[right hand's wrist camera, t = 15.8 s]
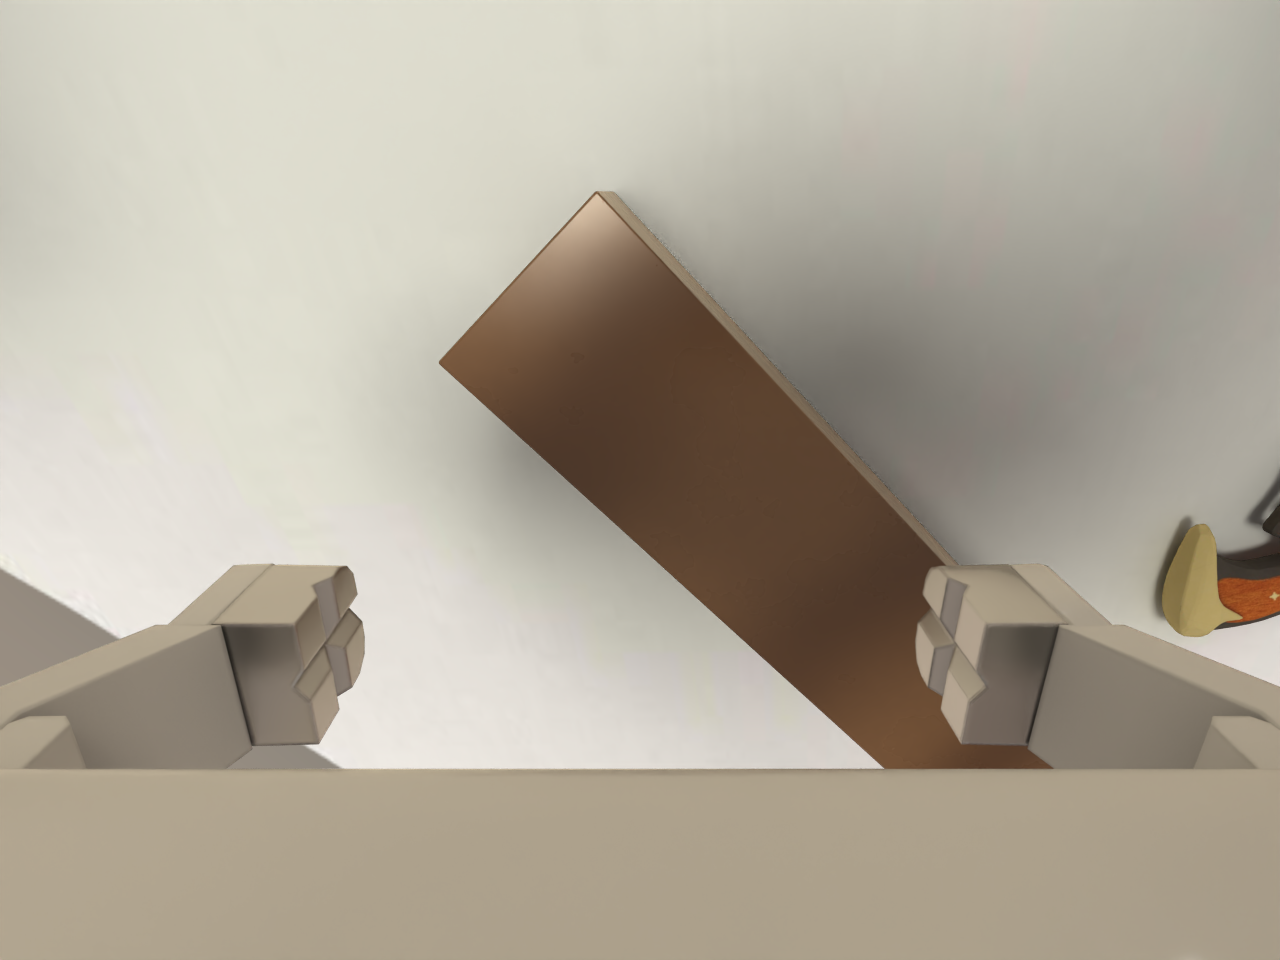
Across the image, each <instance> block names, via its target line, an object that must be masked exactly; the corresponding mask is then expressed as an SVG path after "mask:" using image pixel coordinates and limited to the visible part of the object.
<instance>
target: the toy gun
mask: <svg viewBox="0 0 1280 960" xmlns="http://www.w3.org/2000/svg"><path fill="white" fill-rule="evenodd" d="M1262 528H1263V530H1264V531H1266V532H1268V533H1270V534H1272V535H1274V536H1277V537H1280V505H1279V506H1278V507H1277V508H1276V509H1275V511H1274V512H1273V513H1272V514H1271V515H1270V516H1269V518H1268V519H1267V520H1266V521H1265V523H1264V524H1263V526H1262ZM1162 608H1163V612H1164V615H1165V617H1166V619H1167V621H1168V623H1169V624H1170V625H1171V626H1172V627H1173V629H1174V630H1175V631H1176V632H1178V633H1179V634H1181V635H1183V636H1190V637H1201V636H1204V635H1207V634H1209V633H1210V632H1211V631H1212V630H1216V629H1223V628H1229V627H1236V626H1241V625H1246V624H1251V623H1255V622H1259V621H1262V620H1266V619H1269V618H1271V617H1274V616H1277V615H1280V553H1277V554H1274V555H1270V556H1265V557H1261V558H1256V559H1250V560H1243V561H1238V560H1231V559H1227V558H1223V557H1220V556H1218V555H1217V550H1216V542H1215V538H1214V536H1213V534H1212V532H1211V530H1210V528H1209V527H1208V526H1207V525H1206V524H1198V525H1195V526H1193V527H1192V528H1190V529H1189V530H1188V532H1187V533H1186V535H1185V537H1184V539H1183V541H1182V542H1181V544H1180V546H1179V548H1178V550H1177V552H1176V555H1175V557H1174V559H1173V561H1172V563H1171V565H1170V568H1169V570H1168V573H1167V576H1166V580H1165V583H1164V588H1163V594H1162Z"/></svg>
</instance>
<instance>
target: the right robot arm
mask: <svg viewBox="0 0 1280 960" xmlns="http://www.w3.org/2000/svg"><path fill="white" fill-rule="evenodd" d="M922 594H923V596H924V597H925V599H926V601H927V602H928V604H929V605H930V607H931V608H930V609H929V610H928V611H927V612H926V613H925V614H924V616H923V617H922V618H921V619H920V620H919V621H918V623H917V631H916V638H915V648H916V659H917V664H918V667H919V670H920V674H921V676H922V678H923V680H924V681H925V683H926V685H927V687H928V688H930V689H931V690H933V691H934V692H936V693H938V694H939V695H941V696H943V699H942V704H941V711H942V713H943V714H944V716H945V718H946V719H947V721H948V723H949V724H950V726H951V728H952V729H953V731H954V733H955V735H956V736H957V738H958V740H959V741H960V743H961V744H969V745H1006V746H1028V748H1027V749H1028V750H1030V751H1031V752H1032V753H1034V754H1035V755H1036V756H1038V757H1039V758H1040V759H1042V760H1043V761H1044V762H1046V763H1047V764H1048V765H1050V766H1051V767H1053V768H1054V769H226V768H228V767H229V766H230V765H232V764H233V763H234V762H236V761H237V760H239V759H240V758H241V757H243V756H244V755H245V754H247V753H248V752H249V751H251V750H252V746H273V745H309V744H319V743H320V741H321V740H322V738H323V736H324V735H325V733H326V731H327V730H328V728H329V726H330V724H331V723H332V721H333V719H334V718H335V716H336V714H337V713H338V711H339V704H338V699H337V696H339V695H341V694H342V693H344V692H346V691H347V690H349V689H350V688H352V687H353V685H354V683H355V681H356V679H357V678H358V676H359V674H360V671H361V667H362V662H363V658H364V654H365V636H364V629H363V623H362V621H361V620H360V619H359V618H358V617H357V616H356V614H355V613H354V612H353V611H352V610H351V609H350V608H349V607H350V605H351V604H352V602H353V601H354V599H355V597H356V596H357V589H356V584H355V579H354V574H353V572H352V571H351V570H350V569H349V568H348V567H347V566H330V565H275V564H246V565H233V566H232V567H231V568H230V569H229V570H228V571H227V572H226V573H225V574H223V575H222V576H221V577H220V578H219V579H218V580H217V581H216V582H215V583H214V584H212V585H211V586H210V587H209V588H208V589H207V590H206V591H205V592H204V593H202V594H201V595H200V596H199V597H198V598H197V599H196V600H195V601H194V602H192V603H191V604H190V605H189V606H188V607H187V608H186V609H185V610H184V611H182V612H181V613H180V614H179V615H178V616H177V617H176V618H175V619H174V620H173V621H171V622H170V623H169V624H168V625H154V626H152V627H149V628H147V629H144V630H142V631H139V632H137V633H134V634H132V635H129V636H127V637H124V638H122V639H119V640H117V641H114V642H112V643H109V644H107V645H104V646H102V647H99V648H96V649H94V650H91V651H89V652H86V653H84V654H81V655H79V656H76V657H74V658H71V659H69V660H66V661H64V662H61V663H59V664H56V665H54V666H51V667H49V668H46V669H44V670H41V671H39V672H36V673H34V674H31V675H29V676H26V677H24V678H21V679H19V680H16V681H14V682H11V683H9V684H6V685H3V686H1V687H0V960H1280V687H1279V686H1276V685H1274V684H1271V683H1269V682H1266V681H1264V680H1261V679H1259V678H1256V677H1254V676H1251V675H1249V674H1246V673H1244V672H1241V671H1239V670H1236V669H1234V668H1231V667H1228V666H1226V665H1223V664H1221V663H1218V662H1216V661H1213V660H1211V659H1208V658H1206V657H1203V656H1201V655H1198V654H1196V653H1193V652H1191V651H1188V650H1186V649H1183V648H1181V647H1178V646H1176V645H1173V644H1171V643H1168V642H1166V641H1163V640H1161V639H1158V638H1156V637H1153V636H1151V635H1148V634H1146V633H1143V632H1141V631H1138V630H1136V629H1133V628H1131V627H1128V626H1126V625H1112V624H1111V623H1110V622H1109V621H1108V620H1106V619H1105V618H1104V617H1103V616H1102V615H1101V614H1100V613H1099V612H1098V611H1097V610H1095V609H1094V608H1093V607H1092V606H1091V605H1090V604H1089V603H1088V602H1087V601H1085V600H1084V599H1083V598H1082V597H1081V596H1080V595H1079V594H1078V593H1077V592H1076V591H1074V590H1073V589H1072V588H1071V587H1070V586H1069V585H1068V584H1067V583H1066V582H1064V581H1063V580H1062V579H1061V578H1060V577H1059V576H1058V575H1057V574H1056V573H1055V572H1053V571H1052V570H1051V569H1050V568H1049V567H1048V566H1045V565H1041V564H1017V565H1009V564H1000V565H958V566H936V567H931V568H930V569H929V571H928V574H927V576H926V578H925V583H924V588H923V593H922Z"/></svg>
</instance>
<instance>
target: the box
mask: <svg viewBox="0 0 1280 960" xmlns="http://www.w3.org/2000/svg"><path fill="white" fill-rule="evenodd" d="M439 364H440V365H441V366H442V367H443V368H444V369H445V370H446V371H448V372H449V373H450V374H451V375H452V376H453V377H454V378H455V379H456V380H457V381H459V382H460V383H461V384H462V385H463V386H464V387H465V388H466V389H467V390H468V391H470V392H471V393H472V394H473V395H474V396H475V397H476V398H477V399H478V400H479V401H481V402H482V403H483V404H484V405H485V406H486V407H487V408H488V409H489V410H490V411H492V412H493V413H494V414H495V415H496V416H497V417H498V418H499V419H500V420H501V421H503V422H504V423H505V424H506V425H507V426H508V427H509V428H510V429H511V430H512V431H514V432H515V433H516V434H517V435H518V436H519V437H520V438H521V439H522V440H523V441H525V442H526V443H527V444H528V445H529V446H530V447H531V448H532V449H533V450H534V451H536V452H537V453H538V454H539V455H540V456H541V457H542V458H543V459H544V460H545V461H547V462H548V463H549V464H550V465H551V466H552V467H553V468H554V469H555V470H556V471H558V472H559V473H560V474H561V475H562V476H563V477H564V478H565V479H566V480H567V481H569V482H570V483H571V484H572V485H573V486H574V487H575V488H576V489H577V490H578V491H580V492H581V493H582V494H583V495H584V496H585V497H586V498H587V499H588V500H589V501H591V502H592V503H593V504H594V505H595V506H596V507H597V508H598V509H599V510H600V511H602V512H603V513H604V514H605V515H606V516H607V517H608V518H609V519H610V520H611V521H613V522H614V523H615V524H616V525H617V526H618V527H619V528H620V529H621V530H622V531H624V532H625V533H626V534H627V535H628V536H629V537H630V538H631V539H632V540H633V541H635V542H636V543H637V544H638V545H639V546H640V547H641V548H642V549H643V550H645V551H646V552H647V553H648V554H649V555H650V556H651V557H652V558H653V559H654V560H656V561H657V562H658V563H659V564H660V565H661V566H662V567H663V568H664V569H665V570H667V571H668V572H669V573H670V574H671V575H672V576H673V577H674V578H675V579H676V580H678V581H679V582H680V583H681V584H682V585H683V586H684V587H685V588H686V589H687V590H689V591H690V592H691V593H692V594H693V595H694V596H695V597H696V598H697V599H698V600H700V601H701V602H702V603H703V604H704V605H705V606H706V607H707V608H708V609H709V610H711V611H712V612H713V613H714V614H715V615H716V616H717V617H718V618H719V619H720V620H722V621H723V622H724V623H725V624H726V625H727V626H728V627H729V628H730V629H731V630H733V631H734V632H735V633H736V634H737V635H738V636H739V637H740V638H741V639H742V640H744V641H745V642H746V643H747V644H748V645H749V646H750V647H751V648H752V649H753V650H755V651H756V652H757V653H758V654H759V655H760V656H761V657H762V658H763V659H764V660H766V661H767V662H768V663H769V664H770V665H771V666H772V667H773V668H774V669H775V670H777V671H778V672H779V673H780V674H781V675H782V676H783V677H784V678H785V679H786V680H788V681H789V682H790V683H791V684H792V685H793V686H794V687H795V688H796V689H797V690H799V691H800V692H801V693H802V694H803V695H804V696H805V697H806V698H807V699H808V700H810V701H811V702H812V703H813V704H814V705H815V706H816V707H817V708H818V709H819V710H821V711H822V712H823V713H824V714H825V715H826V716H827V717H828V718H829V719H830V720H832V721H833V722H834V723H835V724H836V725H837V726H838V727H839V728H840V729H841V730H843V731H844V732H845V733H846V734H847V735H848V736H849V737H850V738H851V739H852V740H854V741H855V742H856V743H857V744H858V745H859V746H860V747H861V748H862V749H864V750H865V751H866V752H867V753H868V754H869V755H870V756H871V757H872V758H873V759H875V760H876V761H877V762H878V763H879V764H880V765H881V766H882V767H883V768H884V769H1054V768H1053V767H1051V766H1050V765H1048V764H1047V763H1046V762H1044V761H1043V760H1042V759H1040V758H1039V757H1038V756H1036V755H1035V754H1034V753H1032V752H1031V751H1030V750H1028V749H1027V748H1028V746H1006V745H969V744H961V743H960V741H959V740H958V738H957V736H956V735H955V733H954V731H953V729H952V728H951V726H950V724H949V723H948V721H947V719H946V718H945V716H944V714H943V713H942V711H941V704H942V699H943V696H941V695H939V694H938V693H936V692H934V691H933V690H931V689H930V688H928V687H927V685H926V683H925V681H924V680H923V678H922V676H921V674H920V670H919V667H918V664H917V659H916V648H915V638H916V631H917V623H918V621H919V620H920V619H921V618H922V617H923V616H924V614H925V613H926V612H927V611H928V610H929V609H930V608H931V607H930V605H929V604H928V602H927V601H926V599H925V597H924V596H923V594H922V593H923V588H924V583H925V578H926V576H927V574H928V571H929V569H930V568H931V567H936V566H958V564H957V563H956V561H955V560H954V559H953V558H952V557H951V556H950V555H949V554H948V553H947V552H946V551H945V550H944V548H943V547H942V546H941V545H940V544H939V543H938V542H937V541H936V540H935V539H934V538H933V537H932V535H931V534H930V533H929V532H928V531H927V530H926V529H925V528H924V527H923V526H922V525H921V524H920V522H919V521H918V520H917V519H916V518H915V517H914V516H913V515H912V514H911V513H910V512H909V511H908V509H907V508H906V507H905V506H904V505H903V504H902V503H901V502H900V501H899V500H898V499H897V498H896V497H895V495H894V494H893V493H892V492H891V491H890V490H889V489H888V488H887V487H886V486H885V485H884V484H883V482H882V481H881V480H880V479H879V478H878V477H877V476H876V475H875V474H874V473H873V472H872V471H871V469H870V468H869V467H868V466H867V465H866V464H865V463H864V462H863V461H862V460H861V459H860V458H859V456H858V455H857V454H856V453H855V452H854V451H853V450H852V449H851V448H850V447H849V446H848V445H847V444H846V442H845V441H844V440H843V439H842V438H841V437H840V436H839V435H838V434H837V433H836V432H835V431H834V429H833V428H832V427H831V426H830V425H829V424H828V423H827V422H826V421H825V420H824V419H823V418H822V416H821V415H820V414H819V413H818V412H817V411H816V410H815V409H814V408H813V407H812V406H811V405H810V403H809V402H808V401H807V400H806V399H805V398H804V397H803V396H802V395H801V394H800V393H799V392H798V391H797V389H796V388H795V387H794V386H793V385H792V384H791V383H790V382H789V381H788V380H787V379H786V378H785V376H784V375H783V374H782V373H781V372H780V371H779V370H778V369H777V368H776V367H775V366H774V365H773V363H772V362H771V361H770V360H769V359H768V358H767V357H766V356H765V355H764V354H763V353H762V352H761V350H760V349H759V348H758V347H757V346H756V345H755V344H754V343H753V342H752V341H751V340H750V339H749V338H748V336H747V335H746V334H745V333H744V332H743V331H742V330H741V329H740V328H739V327H738V326H737V325H736V323H735V322H734V321H733V320H732V319H731V318H730V317H729V316H728V315H727V314H726V313H725V312H724V310H723V309H722V308H721V307H720V306H719V305H718V304H717V303H716V302H715V301H714V300H713V299H712V297H711V296H710V295H709V294H708V293H707V292H706V291H705V290H704V289H703V288H702V287H701V286H700V285H699V283H698V282H697V281H696V280H695V279H694V278H693V277H692V276H691V275H690V274H689V273H688V272H687V270H686V269H685V268H684V267H683V266H682V265H681V264H680V263H679V262H678V261H677V260H676V259H675V257H674V256H673V255H672V254H671V253H670V252H669V251H668V250H667V249H666V248H665V247H664V246H663V244H662V243H661V242H660V241H659V240H658V239H657V238H656V237H655V236H654V235H653V234H652V233H651V232H650V230H649V229H648V228H647V227H646V226H645V225H644V224H643V223H642V222H641V221H640V220H639V219H638V217H637V216H636V215H635V214H634V213H633V212H632V211H631V210H630V209H629V208H628V207H627V206H626V204H625V203H624V202H623V201H622V200H621V199H620V198H619V197H618V196H617V195H616V194H615V193H614V192H608V191H596V192H595V193H594V194H593V195H592V196H591V197H590V198H589V199H588V200H587V201H586V202H585V203H584V204H583V206H582V207H581V208H580V209H579V210H578V211H577V212H576V213H575V214H574V215H573V216H572V218H571V219H570V220H569V221H568V222H567V223H566V224H565V225H564V226H563V227H562V228H561V229H560V231H559V232H558V233H557V234H556V235H555V236H554V237H553V238H552V239H551V240H550V241H549V242H548V244H547V245H546V246H545V247H544V248H543V249H542V250H541V251H540V252H539V253H538V254H537V256H536V257H535V258H534V259H533V260H532V261H531V262H530V263H529V264H528V265H527V266H526V267H525V269H524V270H523V271H522V272H521V273H520V274H519V275H518V276H517V277H516V278H515V279H514V280H513V282H512V283H511V284H510V285H509V286H508V287H507V288H506V289H505V290H504V291H503V292H502V294H501V295H500V296H499V297H498V298H497V299H496V300H495V301H494V302H493V303H492V304H491V305H490V307H489V308H488V309H487V310H486V311H485V312H484V313H483V314H482V315H481V316H480V317H479V318H478V320H477V321H476V322H475V323H474V324H473V325H472V326H471V327H470V328H469V329H468V330H467V332H466V333H465V334H464V335H463V336H462V337H461V338H460V339H459V340H458V341H457V342H456V343H455V345H454V346H453V347H452V348H451V349H450V350H449V351H448V352H447V353H446V354H445V355H444V356H443V358H442V359H441V360H440V361H439Z"/></svg>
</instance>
